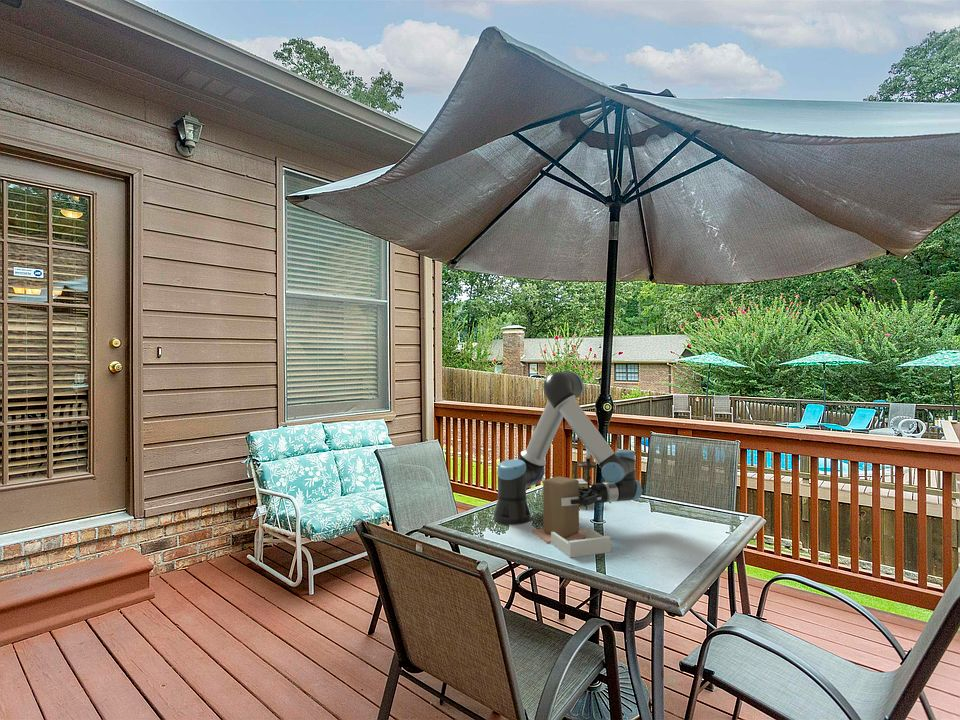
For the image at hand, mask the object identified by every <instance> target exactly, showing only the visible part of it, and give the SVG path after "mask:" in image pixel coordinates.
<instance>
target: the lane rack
mask: <svg viewBox="0 0 960 720" xmlns="http://www.w3.org/2000/svg"><path fill="white" fill-rule="evenodd" d="M585 532H586V538H585V539H577V540H569V541H567V540H565V539H564V538H562V537H561V536H559V535H558V534H557V533H555V532H551V543H552V545H553V546H554V547H555V546H556V547H555V548H557V549H558V548H559V549H560V550H559V549H558V550H559V551H560V552H562V551H563V552H564V554H565V555H566V556H567V555H568V556H567V557H569V558H571V557H572V558H579V557H585V556H592V555H598V554H599V555H600V554H606V553H612V537H611V536H609V535H607V536H606V535H602V534H601V533H599V532H597V531H596V530H594V529H593V528H591V527H586V528H585ZM551 543H550V544H551ZM563 552H562V553H563Z"/></svg>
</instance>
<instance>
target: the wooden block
mask: <svg viewBox="0 0 960 720" xmlns="http://www.w3.org/2000/svg"><path fill="white" fill-rule="evenodd" d="M576 479H577V478H570V477H565V476H559V475H557V476H553V477H550V478H547V479H544V480H543V483H542V489H543V490H542V497H543V498H542V503H543V504H542V505H543V508H542V510H543V511H542V512H543V513H542V515H543V516H542V517H543V519H542V520H543V521H542V522H543V530H544V532H545V533H548V534H551V532H555V533H557V534H558V535H559V536H561V537H562V538H565V537H568V536H570V535H573V534H575V533H578V532H579V529H580V506H579V505H569V506H562V504H561V498H569V497H579V481H578V480H576Z"/></svg>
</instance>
